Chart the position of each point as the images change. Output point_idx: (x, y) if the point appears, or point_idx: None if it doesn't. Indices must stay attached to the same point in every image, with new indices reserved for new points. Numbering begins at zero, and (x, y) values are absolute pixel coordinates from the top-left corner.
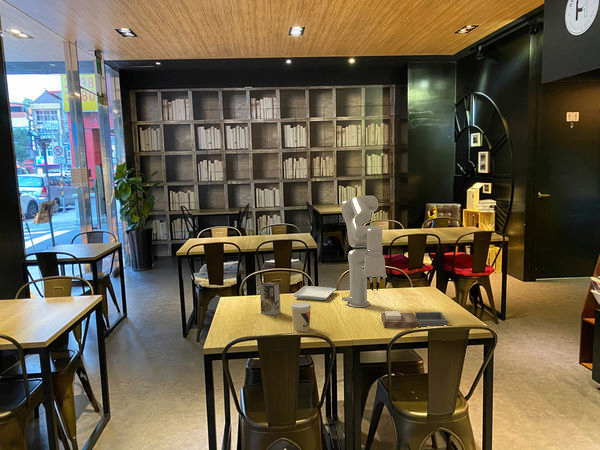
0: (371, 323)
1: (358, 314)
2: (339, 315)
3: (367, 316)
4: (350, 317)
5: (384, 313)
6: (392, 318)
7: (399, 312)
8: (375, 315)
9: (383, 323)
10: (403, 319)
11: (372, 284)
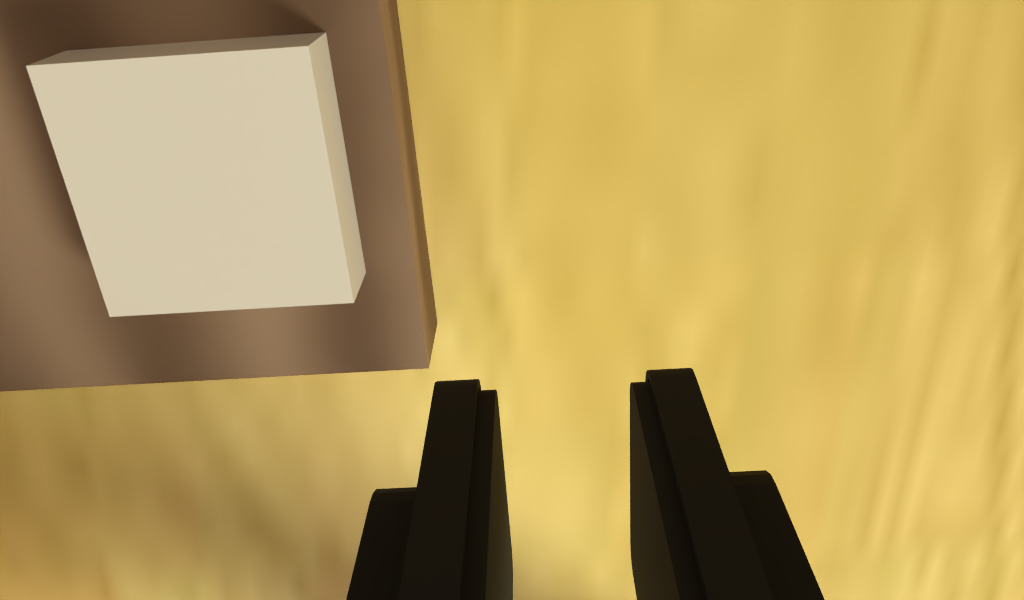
0: (590, 108)
1: (742, 466)
2: (1015, 419)
3: (627, 400)
4: (875, 351)
5: (377, 347)
6: (214, 42)
7: (91, 250)
8: (515, 440)
9: (396, 36)
10: (28, 61)
11: (719, 552)
